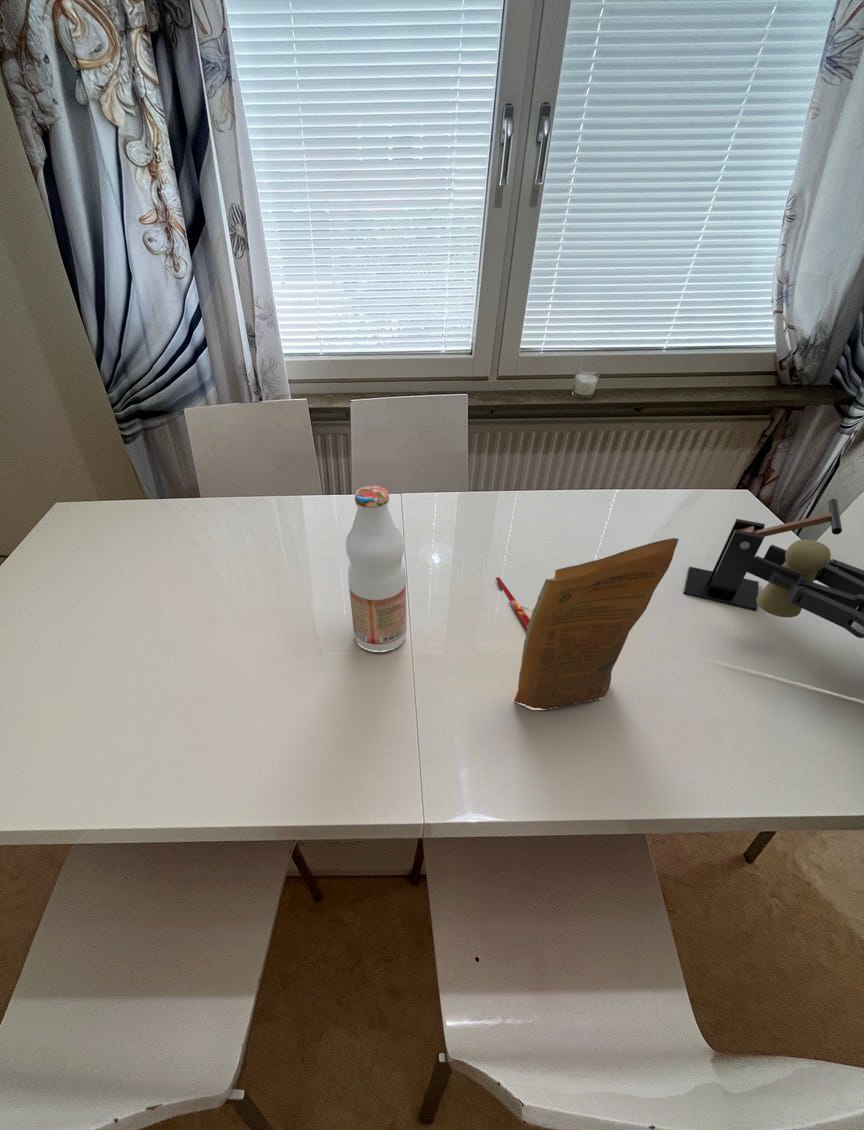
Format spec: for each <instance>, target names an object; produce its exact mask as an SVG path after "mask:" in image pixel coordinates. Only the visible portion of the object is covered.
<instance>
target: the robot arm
mask: <svg viewBox="0 0 864 1130" xmlns="http://www.w3.org/2000/svg"><path fill="white" fill-rule="evenodd" d="M786 551H787V549H784V548H782V547H779V546H777V545H774V544H771V545H769V547H768V549H767V551H766V552H765V554H764V556H763V557H761V556H759V555H755V557H754V559H753V561H752V563H751V565H750V567H749V569H748V571H747V573H748V574H750V575H752V576H755V577H757V578H759V579H762V580H763V581H766V582H768V583H769V582H770V583H772V584H774V585H776V586H779V587H781V588H783V589H785V590H788V591H789V592H790V594H791V598H790V599H789V602H790V603H792V604H794V605H796V606H798V607H801V608H802V609H803V610H804V611H807V612H808V613H812V614H813V615H815V616H817V617H819V618H821V619H824V620H826V621H828V622H830V623H833V624H834V625H837V626H838V627H840V628H843V629H845V630H846V631H848V632H849V633H850V634H852V635H853V636H854V637H856V638H858V639H864V569H862V568H858V567H856V566H853V565H850V564H849V563H845V562H842V561H841V560H837V559H833V558H832V559H831V558H830V560H829V562H828V563H827V564H826V566H825V567H823V568H822V569H820V570H818V571H817V574H816V576H815V579H814V581H813V582H811V581H808V580H805V577H806V575H802V574H800V573H797V572H794V571H792V570H790V569H788V568H785V567H783V566H782V565H783V564H784V562H785V561H786V559H785V554H786ZM815 581H817V582H819V583H817V582H815ZM820 583H821V584H820Z"/></svg>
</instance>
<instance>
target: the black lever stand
mask: <svg viewBox="0 0 864 1130" xmlns="http://www.w3.org/2000/svg"><path fill="white" fill-rule="evenodd" d="M751 526H754V529H755V531H756V530H761V529H765V527H766V524H765V523H761V522H757V521H751V520H746V519H740V518H735V521H734V523H733V525H732V527H731V530H730V532H729V533H728V536H727V538H726V541H725V542H724V544H723V547H722V549H721V551H720V554H719V556H718V558H717V560H716V562H715V564H714V567H713V569H712V570H708V569H702V568H698V567H694V566H688V569H687V572H686V573H687V574H686V579H685V584H684V588H683V595H686V596H690V597H693V598H699V599H703V600H705V601H706V600H707V601H710V602H716V603H719V604H723V605H728V606H732V607H736V608H740V609H745V610H748V611H753V612H757V610H758V607H759V606H758V604H757V602H756V598H757V597H758V596H759V581H758V580H753V579H748V578H745V577H746V575H747V573H748V572H747V571H748V569H749V567H750V565H751V563H752V561H753V559H754V557H755V556H757V553H758V551H759V549H760V547H761V545H762V544H763V541H764V540H765V537H764V535H761V534H755V533H750V532H745V531H740V530H739V529H743V528H747V527H751Z"/></svg>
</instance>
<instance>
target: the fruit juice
mask: <svg viewBox="0 0 864 1130" xmlns="http://www.w3.org/2000/svg"><path fill="white" fill-rule="evenodd" d="M354 501H355V506H356V507H357V509H356V513H355V516H354V520H353V523H352V527H351V530H349V532H348V534H347V536H346V540H345V552H346V556H347V558H348V561H349V565H348V569H347V582H348V589H349V591H348V592H349V601H350V609H351V618H352V629H353V636H354V640H355V639H356V640H355V642H356V641H357V642H358V643H359V644H360V645H361V646H363V647H364V648H367V649H370V650H378V651H382V650H389V649H393V648H396V647H397V646H399V645H401V644H402V645H403V643H404V642H405V640H406V638H407V632H408V631H407V628H408V627H407V626H408V625H407V575H406V567H405V565H404V564H405V563H404V562H403V560H402V558H403V556H404V552H405V541H404V537H403V534H402V532H401V530H400V529H399V528H398V527H397V526H396V524H395V522H394V520H393V517H392V515H391V512H390V509H389V507H388V505H389V503H390V494H389V491H388V489H386V487H383V486H381V485H366V486H363V487H360V488H359V489H357V490H356V491H355V494H354ZM403 641H404V642H403ZM357 642H356V643H357ZM402 642H403V643H402ZM402 645H401V646H402Z"/></svg>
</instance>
